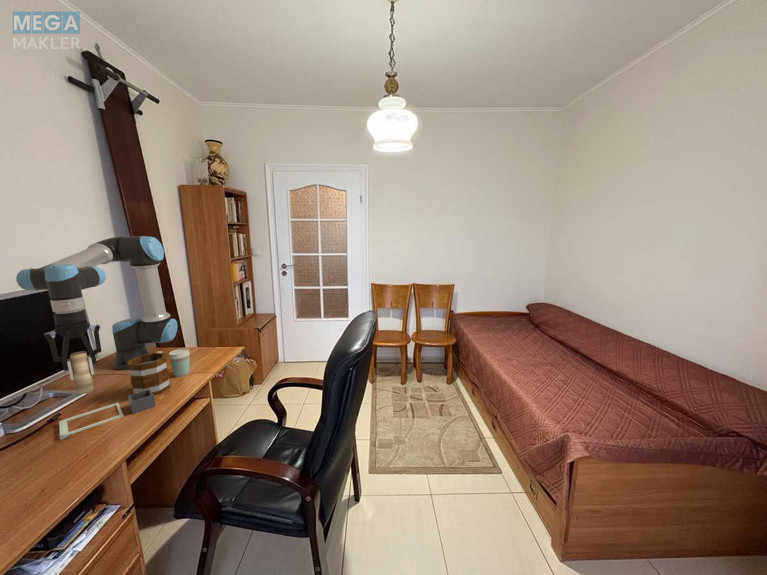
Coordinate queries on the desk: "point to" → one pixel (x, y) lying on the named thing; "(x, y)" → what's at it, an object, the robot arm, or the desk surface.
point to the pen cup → (141, 401)
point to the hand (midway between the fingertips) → (82, 375)
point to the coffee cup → (179, 362)
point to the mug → (149, 373)
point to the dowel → (81, 372)
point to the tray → (64, 425)
